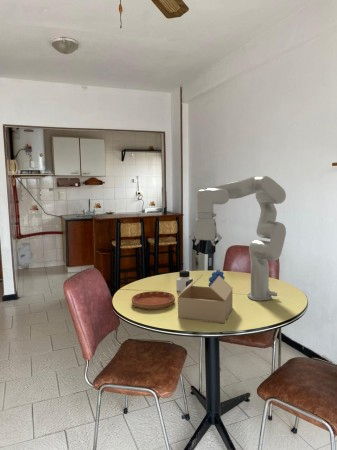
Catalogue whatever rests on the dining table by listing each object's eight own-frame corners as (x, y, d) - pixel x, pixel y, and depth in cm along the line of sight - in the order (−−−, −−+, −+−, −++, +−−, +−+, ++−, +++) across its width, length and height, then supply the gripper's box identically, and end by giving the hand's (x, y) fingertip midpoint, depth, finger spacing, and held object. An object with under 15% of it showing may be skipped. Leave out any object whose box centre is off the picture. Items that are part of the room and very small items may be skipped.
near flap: (232, 288, 173) (232, 288, 172) (224, 301, 155) (225, 300, 155) (218, 276, 174) (219, 275, 174) (209, 287, 157) (210, 286, 157)
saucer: (127, 300, 191) (126, 293, 190) (166, 294, 199) (166, 288, 198) (138, 314, 169) (138, 307, 169) (181, 307, 177) (181, 300, 177)
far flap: (178, 296, 163) (177, 295, 163) (189, 285, 180) (189, 284, 180) (191, 285, 160) (191, 284, 160) (202, 275, 177) (202, 274, 177)
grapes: (219, 286, 211) (219, 267, 210) (226, 289, 206) (226, 269, 204) (204, 289, 205) (204, 270, 204) (211, 292, 200) (211, 272, 198)
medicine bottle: (186, 293, 200) (185, 272, 199) (176, 291, 204) (175, 271, 203) (193, 290, 206) (192, 270, 204) (183, 288, 210) (182, 268, 209)
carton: (232, 308, 174) (232, 289, 173) (224, 323, 156) (224, 302, 155) (190, 303, 182) (190, 285, 181) (178, 317, 163) (177, 297, 162)
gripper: (225, 215, 164) (225, 252, 166) (189, 215, 170) (190, 250, 172) (221, 217, 157) (221, 255, 159) (185, 216, 163) (185, 253, 165)
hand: (205, 253), depth 165 cm, fingers open, 6 cm apart
